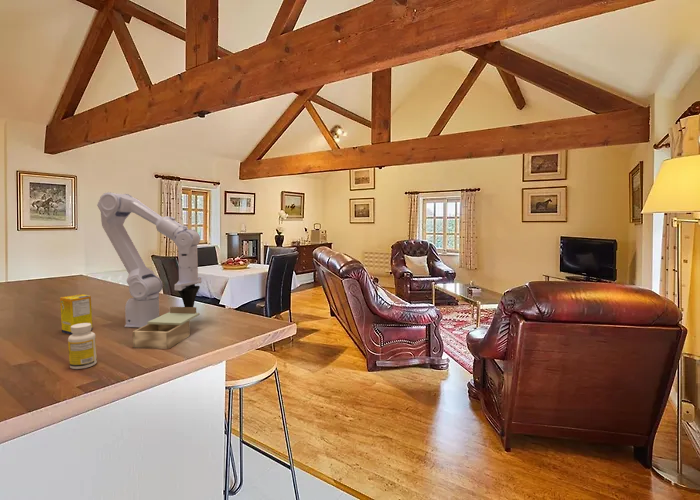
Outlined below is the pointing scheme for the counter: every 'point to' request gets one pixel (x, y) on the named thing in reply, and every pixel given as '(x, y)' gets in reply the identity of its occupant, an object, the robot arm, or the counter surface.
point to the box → (160, 335)
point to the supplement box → (75, 311)
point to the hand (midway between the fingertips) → (189, 308)
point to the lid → (176, 316)
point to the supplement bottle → (82, 346)
